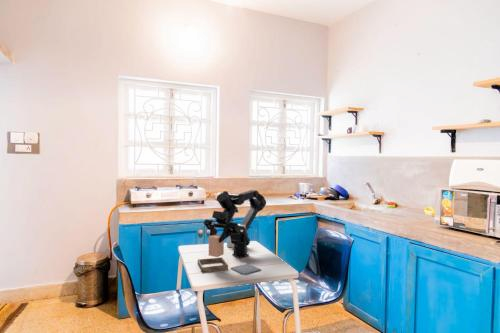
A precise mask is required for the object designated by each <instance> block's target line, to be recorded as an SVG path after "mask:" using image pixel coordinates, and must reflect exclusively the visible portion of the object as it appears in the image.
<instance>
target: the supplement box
mask: <svg viewBox="0 0 500 333" xmlns="http://www.w3.org/2000/svg"><path fill="white" fill-rule="evenodd" d="M237 224H238V225H240V224H241V223H237ZM226 247H227V248H232V249H234V244H232V243H231V238H230V236H229V237H227V238H226Z"/></svg>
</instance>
